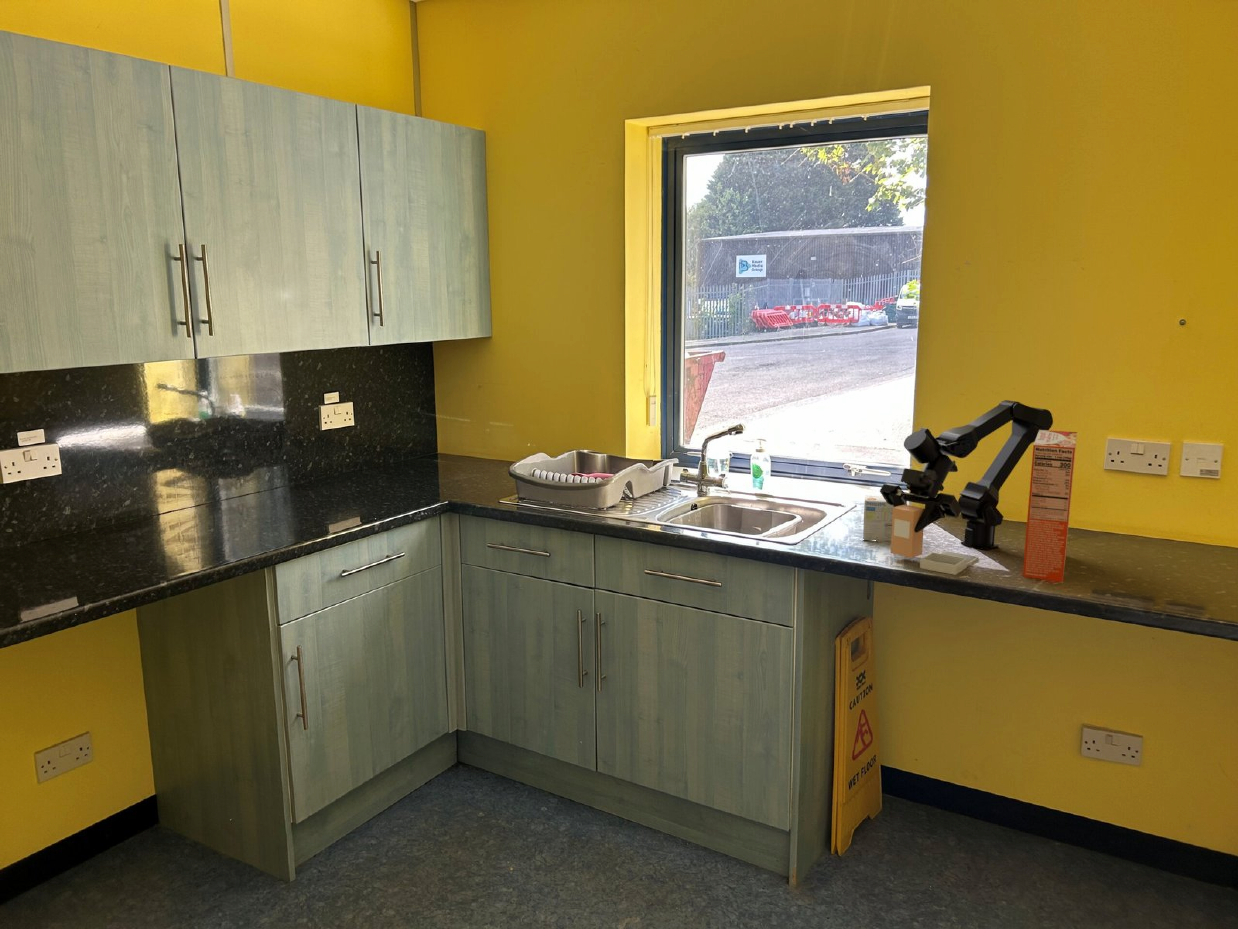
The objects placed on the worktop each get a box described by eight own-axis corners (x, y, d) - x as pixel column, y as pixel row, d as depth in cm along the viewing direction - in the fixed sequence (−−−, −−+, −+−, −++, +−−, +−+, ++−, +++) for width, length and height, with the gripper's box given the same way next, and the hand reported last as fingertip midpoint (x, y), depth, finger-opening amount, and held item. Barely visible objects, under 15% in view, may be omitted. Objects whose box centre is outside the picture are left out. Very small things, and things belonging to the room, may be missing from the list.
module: (901, 549, 221) (903, 504, 219) (922, 554, 217) (924, 508, 214) (890, 553, 218) (892, 507, 216) (910, 558, 214) (913, 512, 211)
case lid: (944, 554, 223) (944, 549, 223) (978, 560, 218) (978, 556, 218) (931, 562, 217) (932, 557, 217) (966, 568, 212) (966, 563, 212)
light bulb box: (905, 537, 239) (908, 496, 237) (906, 544, 233) (908, 502, 230) (862, 534, 242) (864, 494, 240) (862, 541, 235) (864, 500, 233)
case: (931, 562, 217) (932, 552, 217) (966, 569, 212) (967, 558, 212) (919, 569, 212) (920, 559, 211) (955, 576, 207) (956, 565, 206)
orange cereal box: (1029, 551, 226) (1039, 429, 220) (1065, 555, 222) (1077, 432, 216) (1022, 578, 206) (1033, 444, 200) (1062, 583, 202) (1075, 447, 196)
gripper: (885, 450, 222) (856, 502, 217) (957, 460, 208) (928, 517, 203) (902, 477, 229) (874, 528, 224) (973, 489, 215) (945, 544, 210)
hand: (904, 529), depth 215 cm, fingers closed on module, 5 cm apart
